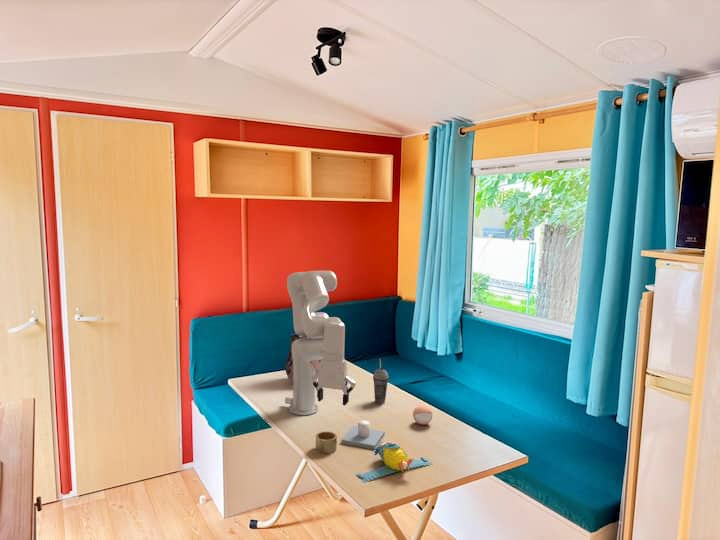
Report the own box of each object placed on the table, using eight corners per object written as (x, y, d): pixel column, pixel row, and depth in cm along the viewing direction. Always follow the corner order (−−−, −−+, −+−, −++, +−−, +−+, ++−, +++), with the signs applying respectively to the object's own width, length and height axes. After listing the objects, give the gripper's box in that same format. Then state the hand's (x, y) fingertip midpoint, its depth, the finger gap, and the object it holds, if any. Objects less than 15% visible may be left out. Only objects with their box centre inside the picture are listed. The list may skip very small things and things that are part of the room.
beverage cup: (376, 406, 224) (378, 362, 222) (369, 400, 230) (370, 358, 228) (390, 403, 227) (392, 361, 225) (382, 398, 234) (384, 356, 231)
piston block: (341, 443, 186) (341, 426, 186) (353, 429, 199) (353, 413, 198) (374, 449, 182) (375, 432, 182) (384, 435, 194) (385, 419, 194)
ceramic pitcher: (283, 377, 258) (284, 330, 256) (324, 375, 263) (325, 329, 261) (287, 389, 241) (288, 338, 239) (330, 387, 247) (331, 337, 244)
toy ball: (415, 428, 202) (416, 409, 201) (410, 420, 210) (411, 402, 209) (434, 427, 203) (435, 408, 202) (428, 419, 211) (429, 401, 210)
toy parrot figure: (369, 463, 156) (346, 444, 169) (369, 489, 156) (346, 468, 169) (440, 445, 169) (414, 429, 182) (439, 470, 170) (413, 452, 183)
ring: (312, 451, 179) (312, 438, 179) (320, 443, 186) (320, 430, 185) (331, 455, 177) (331, 442, 176) (339, 446, 184) (339, 433, 183)
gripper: (307, 355, 178) (306, 402, 180) (352, 361, 172) (351, 409, 174) (316, 350, 185) (315, 395, 187) (360, 356, 179) (358, 402, 181)
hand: (332, 402), depth 180 cm, fingers open, 9 cm apart
